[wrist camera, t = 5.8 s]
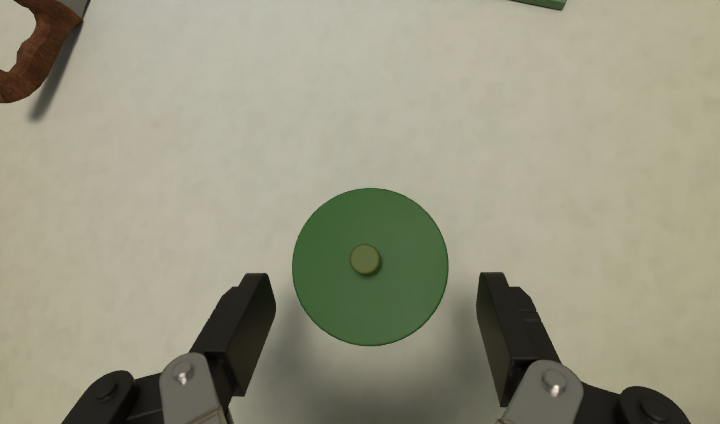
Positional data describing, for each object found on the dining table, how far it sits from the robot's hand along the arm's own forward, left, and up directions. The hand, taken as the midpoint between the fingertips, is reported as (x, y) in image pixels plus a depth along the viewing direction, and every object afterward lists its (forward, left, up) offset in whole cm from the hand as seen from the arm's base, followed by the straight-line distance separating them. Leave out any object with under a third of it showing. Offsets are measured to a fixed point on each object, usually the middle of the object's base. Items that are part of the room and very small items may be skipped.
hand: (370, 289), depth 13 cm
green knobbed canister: (0, -1, -6) cm, 6 cm away
